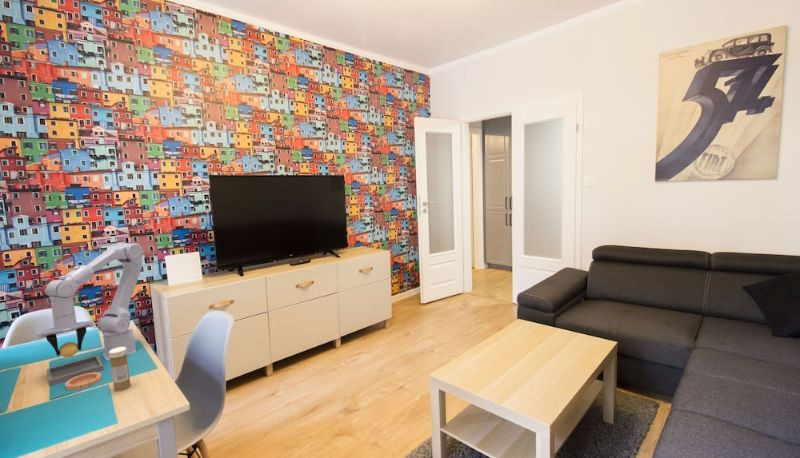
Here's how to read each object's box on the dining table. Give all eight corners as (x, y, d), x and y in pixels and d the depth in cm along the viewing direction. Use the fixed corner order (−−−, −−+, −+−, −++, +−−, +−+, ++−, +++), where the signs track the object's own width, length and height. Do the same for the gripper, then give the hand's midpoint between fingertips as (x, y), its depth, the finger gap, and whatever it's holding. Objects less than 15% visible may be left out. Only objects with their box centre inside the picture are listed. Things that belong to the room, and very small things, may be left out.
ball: (77, 352, 133) (76, 338, 132) (80, 355, 129) (78, 342, 129) (58, 357, 129) (57, 343, 128) (61, 361, 126) (59, 347, 125)
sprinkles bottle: (132, 384, 122) (127, 345, 121) (129, 390, 118) (124, 350, 117) (115, 387, 120) (110, 348, 119) (111, 394, 116) (106, 353, 115)
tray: (98, 361, 140) (97, 355, 139) (103, 371, 131) (103, 365, 131) (47, 375, 130) (46, 369, 129) (49, 387, 121) (49, 380, 121)
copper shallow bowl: (99, 374, 129) (98, 369, 129) (103, 383, 123) (102, 378, 123) (64, 384, 123) (64, 379, 123) (67, 394, 117) (66, 389, 117)
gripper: (35, 322, 119) (40, 363, 121) (92, 311, 130) (97, 348, 131) (34, 318, 124) (39, 356, 126) (90, 307, 135) (94, 343, 136)
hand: (69, 352), depth 129 cm, fingers closed on ball, 5 cm apart
